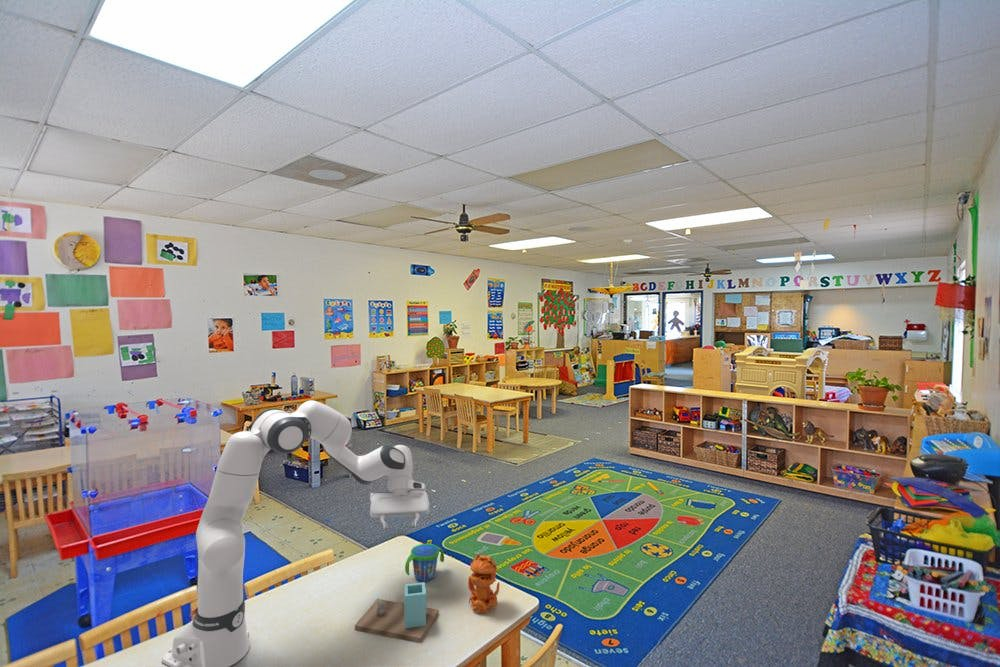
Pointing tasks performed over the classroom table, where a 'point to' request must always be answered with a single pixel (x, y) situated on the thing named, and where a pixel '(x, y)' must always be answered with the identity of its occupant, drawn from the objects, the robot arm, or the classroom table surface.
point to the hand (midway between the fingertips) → (399, 528)
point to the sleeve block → (414, 605)
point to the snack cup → (424, 561)
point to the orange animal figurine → (483, 583)
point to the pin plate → (393, 621)
